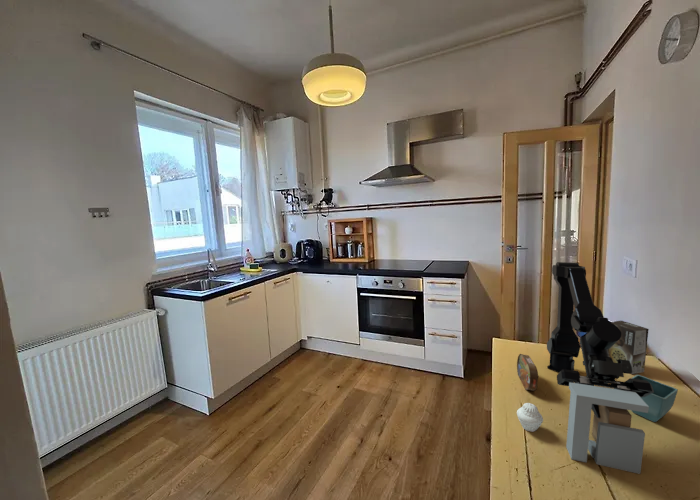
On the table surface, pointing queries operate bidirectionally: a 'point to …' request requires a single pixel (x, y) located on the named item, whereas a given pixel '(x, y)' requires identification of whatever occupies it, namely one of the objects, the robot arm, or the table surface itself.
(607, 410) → the brown wooden block
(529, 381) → the tin
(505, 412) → the table surface
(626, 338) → the coffee box
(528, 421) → the muffin
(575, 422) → the grey gallows bracket
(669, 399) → the flower pot
